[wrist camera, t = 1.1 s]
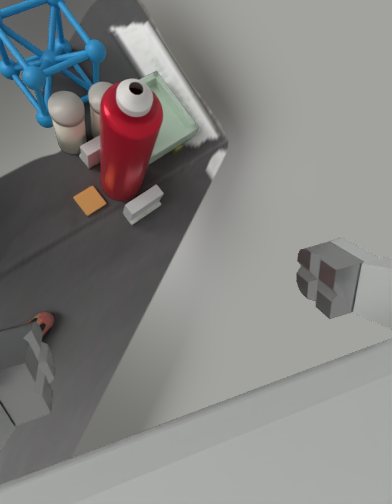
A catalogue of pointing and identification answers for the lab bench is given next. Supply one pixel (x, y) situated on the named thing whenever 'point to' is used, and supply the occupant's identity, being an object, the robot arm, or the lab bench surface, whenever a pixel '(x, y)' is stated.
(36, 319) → the screwdriver
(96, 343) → the lab bench surface
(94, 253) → the lab bench surface
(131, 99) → the bottle
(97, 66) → the molecular structure
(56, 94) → the assorted small pieces
